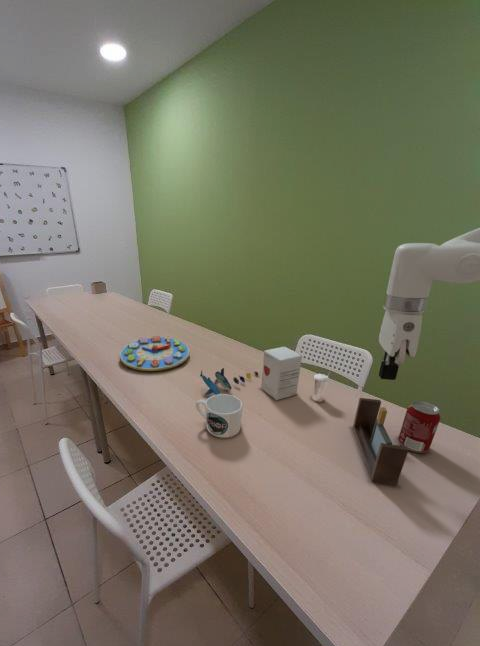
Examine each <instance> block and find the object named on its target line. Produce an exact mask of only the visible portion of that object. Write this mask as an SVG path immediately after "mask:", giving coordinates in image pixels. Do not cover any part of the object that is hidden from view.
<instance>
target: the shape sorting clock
mask: <svg viewBox="0 0 480 646" xmlns="http://www.w3.org/2000/svg"><path fill="white" fill-rule="evenodd" d="M190 351H191V350H190V348H189V345H187V344H186V343H185V342H183V341H182V340H180V339H176V338H174V337H173V338H172V337H171V336H165V337H164V336H159V335H156V336H155V335H154V336H151V337H141V338H138V339H136V340H135V341H132V342H129V343H127V345H125V346H124V347H123V348H122V349H121V350H120V352H119V359H120V361H121V363H122V364H123V365H125V367H128V368H129V369H133V370H137V371H144V372H156V371H157V372H158V371H164V370H169V369H173V368H175V367H178V366H179V367H180V366H181V364H183V363H185V362H186V361H187V360H188V359H189V357H190V354H191V352H190Z"/></svg>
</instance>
